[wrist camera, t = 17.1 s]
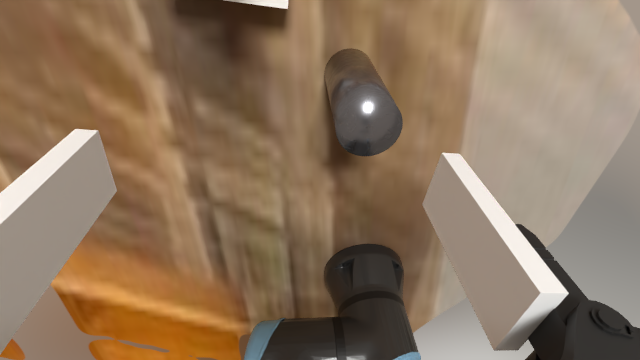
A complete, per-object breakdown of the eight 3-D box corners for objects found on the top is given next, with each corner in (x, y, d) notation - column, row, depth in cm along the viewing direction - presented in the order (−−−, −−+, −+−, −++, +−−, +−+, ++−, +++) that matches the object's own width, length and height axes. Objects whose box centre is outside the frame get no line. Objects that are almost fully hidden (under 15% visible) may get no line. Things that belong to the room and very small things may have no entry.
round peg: (366, 98, 43) (392, 158, 32) (321, 94, 42) (331, 153, 31) (377, 51, 39) (410, 100, 28) (328, 45, 38) (342, 93, 27)
